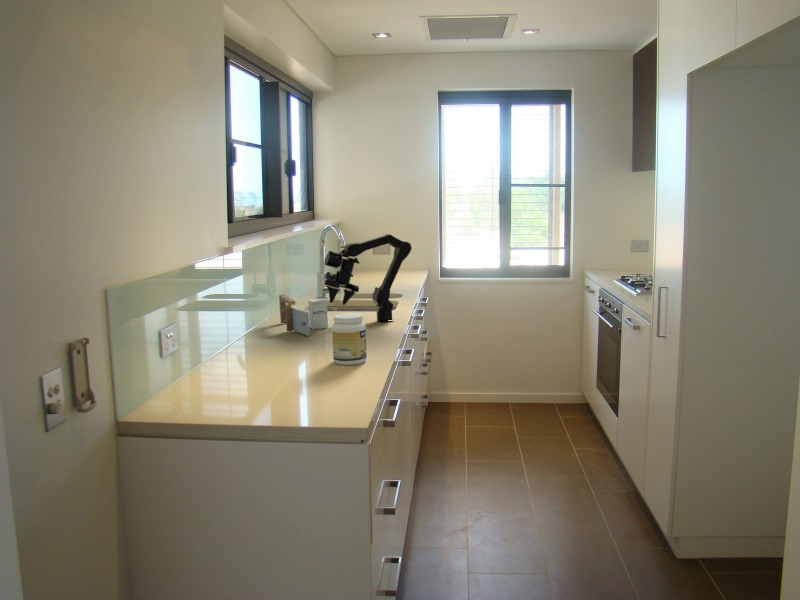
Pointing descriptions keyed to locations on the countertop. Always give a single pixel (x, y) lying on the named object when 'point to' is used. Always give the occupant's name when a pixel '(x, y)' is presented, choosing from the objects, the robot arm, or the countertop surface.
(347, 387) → the countertop surface
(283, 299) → the door frame
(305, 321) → the door
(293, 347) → the countertop surface
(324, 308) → the supplement box
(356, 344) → the supplement tub
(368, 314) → the countertop surface
